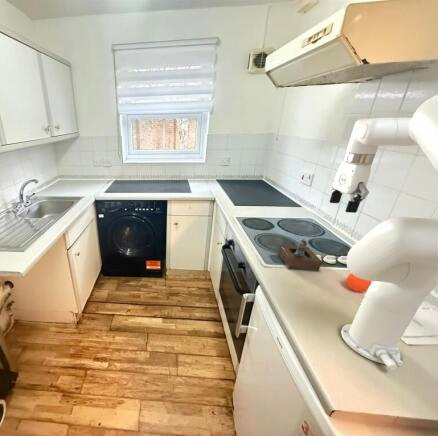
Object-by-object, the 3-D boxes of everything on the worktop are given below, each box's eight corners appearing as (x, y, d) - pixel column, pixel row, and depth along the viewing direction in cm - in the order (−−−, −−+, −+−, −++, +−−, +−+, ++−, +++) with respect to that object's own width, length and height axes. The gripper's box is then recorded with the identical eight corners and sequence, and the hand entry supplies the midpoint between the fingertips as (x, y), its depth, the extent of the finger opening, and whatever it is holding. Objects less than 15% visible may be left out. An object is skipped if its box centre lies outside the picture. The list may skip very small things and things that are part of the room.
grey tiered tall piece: (299, 258, 109) (306, 235, 105) (308, 266, 104) (315, 241, 99) (287, 259, 109) (293, 235, 104) (294, 266, 104) (301, 242, 99)
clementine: (342, 280, 95) (347, 265, 92) (364, 285, 92) (371, 270, 89) (345, 291, 89) (351, 275, 86) (369, 298, 85) (376, 282, 83)
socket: (318, 271, 100) (322, 261, 98) (288, 269, 102) (291, 259, 100) (305, 256, 111) (308, 247, 109) (278, 254, 113) (280, 245, 111)
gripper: (331, 155, 87) (318, 199, 93) (363, 163, 71) (345, 215, 78) (353, 155, 86) (339, 200, 92) (391, 163, 70) (370, 217, 77)
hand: (341, 207), depth 85 cm, fingers open, 9 cm apart
